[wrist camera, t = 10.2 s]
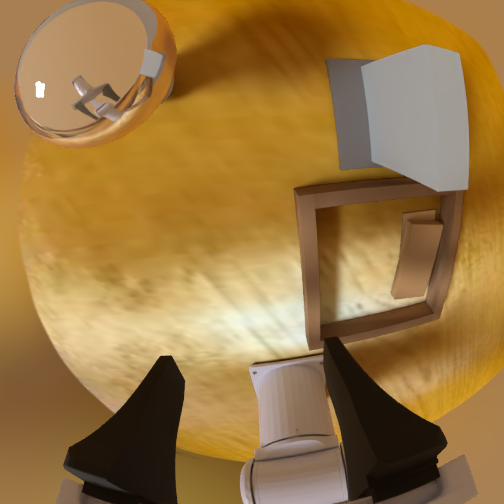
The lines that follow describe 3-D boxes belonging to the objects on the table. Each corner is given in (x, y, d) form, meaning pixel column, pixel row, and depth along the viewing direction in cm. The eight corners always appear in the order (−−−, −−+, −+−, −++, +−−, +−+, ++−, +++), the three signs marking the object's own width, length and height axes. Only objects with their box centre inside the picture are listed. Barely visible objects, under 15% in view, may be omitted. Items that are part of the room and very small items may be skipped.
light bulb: (179, 24, 13) (101, -63, 2) (224, 100, 16) (183, 65, 5) (98, 79, 14) (-30, 70, 4) (138, 152, 17) (19, 205, 7)
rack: (430, 307, 24) (439, 318, 22) (305, 335, 25) (309, 350, 23) (450, 175, 18) (464, 181, 16) (293, 188, 19) (298, 196, 17)
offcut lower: (419, 282, 24) (424, 287, 23) (390, 288, 24) (395, 294, 23) (429, 206, 20) (435, 209, 19) (397, 209, 20) (403, 213, 19)
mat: (420, 164, 18) (422, 165, 17) (340, 169, 18) (341, 169, 18) (411, 65, 14) (413, 65, 14) (325, 59, 14) (326, 58, 14)
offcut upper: (419, 290, 23) (423, 295, 22) (390, 293, 23) (394, 299, 22) (437, 220, 20) (443, 224, 19) (406, 219, 20) (412, 224, 19)
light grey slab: (397, 160, 17) (467, 189, 10) (371, 161, 17) (437, 191, 10) (387, 68, 14) (459, 53, 7) (360, 66, 14) (425, 44, 7)
